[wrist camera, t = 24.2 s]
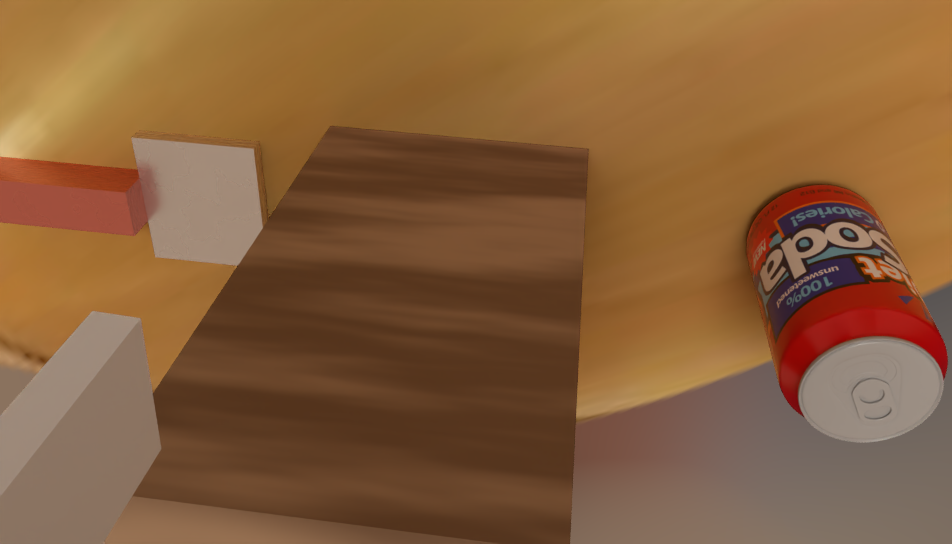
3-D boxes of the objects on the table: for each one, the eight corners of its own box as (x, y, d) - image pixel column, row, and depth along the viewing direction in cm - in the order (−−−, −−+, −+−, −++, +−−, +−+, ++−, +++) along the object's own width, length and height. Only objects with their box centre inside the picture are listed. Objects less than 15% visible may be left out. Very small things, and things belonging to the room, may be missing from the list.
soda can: (765, 301, 56) (809, 469, 44) (726, 204, 53) (763, 357, 41) (891, 262, 54) (975, 430, 41) (859, 158, 50) (940, 306, 38)
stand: (330, 126, 54) (88, 490, 29) (588, 149, 52) (569, 552, 27) (340, 285, 60) (150, 693, 35) (569, 309, 59) (539, 751, 34)
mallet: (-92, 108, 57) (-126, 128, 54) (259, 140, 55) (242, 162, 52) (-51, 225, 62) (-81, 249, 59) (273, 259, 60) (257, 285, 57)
